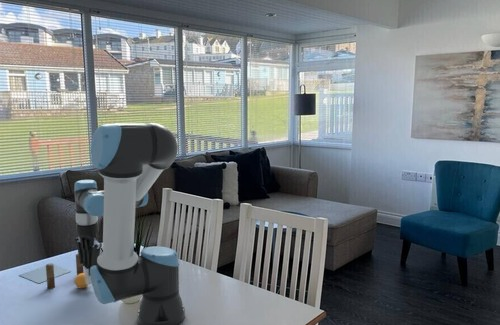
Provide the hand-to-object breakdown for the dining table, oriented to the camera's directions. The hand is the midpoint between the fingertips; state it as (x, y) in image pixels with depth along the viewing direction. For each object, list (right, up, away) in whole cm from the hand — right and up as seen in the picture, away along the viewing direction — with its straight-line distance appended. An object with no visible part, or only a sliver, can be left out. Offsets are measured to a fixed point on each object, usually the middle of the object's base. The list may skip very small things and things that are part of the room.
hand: (90, 282), depth 152 cm
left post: (-16, -2, +2) cm, 16 cm away
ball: (-4, 0, +2) cm, 4 cm away
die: (-4, +1, +28) cm, 28 cm away
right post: (-9, -1, +13) cm, 15 cm away
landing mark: (-24, 0, +15) cm, 28 cm away
